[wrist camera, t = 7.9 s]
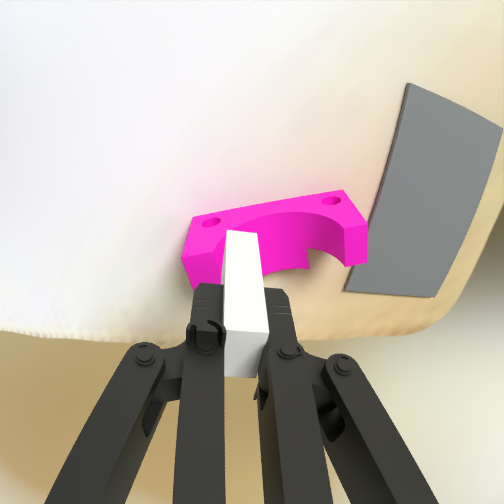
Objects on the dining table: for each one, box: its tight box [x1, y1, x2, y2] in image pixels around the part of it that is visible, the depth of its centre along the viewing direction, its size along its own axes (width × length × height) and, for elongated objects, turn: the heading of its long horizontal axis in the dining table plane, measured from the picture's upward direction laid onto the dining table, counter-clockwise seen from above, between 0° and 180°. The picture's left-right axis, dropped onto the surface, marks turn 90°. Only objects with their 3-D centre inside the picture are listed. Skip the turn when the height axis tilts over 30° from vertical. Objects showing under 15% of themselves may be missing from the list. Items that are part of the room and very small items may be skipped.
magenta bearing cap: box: [181, 190, 368, 290], centre depth 29 cm, size 15×6×8 cm, turn 101°
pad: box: [344, 83, 503, 297], centre depth 30 cm, size 14×24×1 cm, turn 171°
